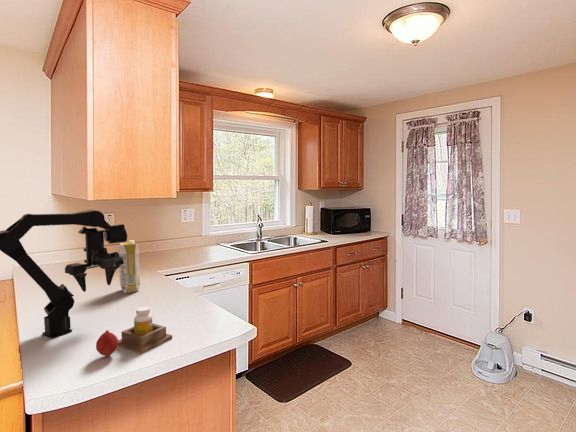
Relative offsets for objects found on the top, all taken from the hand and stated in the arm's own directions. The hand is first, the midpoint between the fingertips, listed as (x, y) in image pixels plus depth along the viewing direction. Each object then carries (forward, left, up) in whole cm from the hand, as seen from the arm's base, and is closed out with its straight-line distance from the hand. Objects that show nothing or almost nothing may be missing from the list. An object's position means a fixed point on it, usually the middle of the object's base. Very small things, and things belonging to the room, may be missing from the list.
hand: (97, 288), depth 127 cm
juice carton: (+32, +25, -13) cm, 43 cm away
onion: (-14, -26, -13) cm, 32 cm away
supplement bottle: (-2, -27, -12) cm, 30 cm away
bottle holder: (-2, -27, -13) cm, 30 cm away
